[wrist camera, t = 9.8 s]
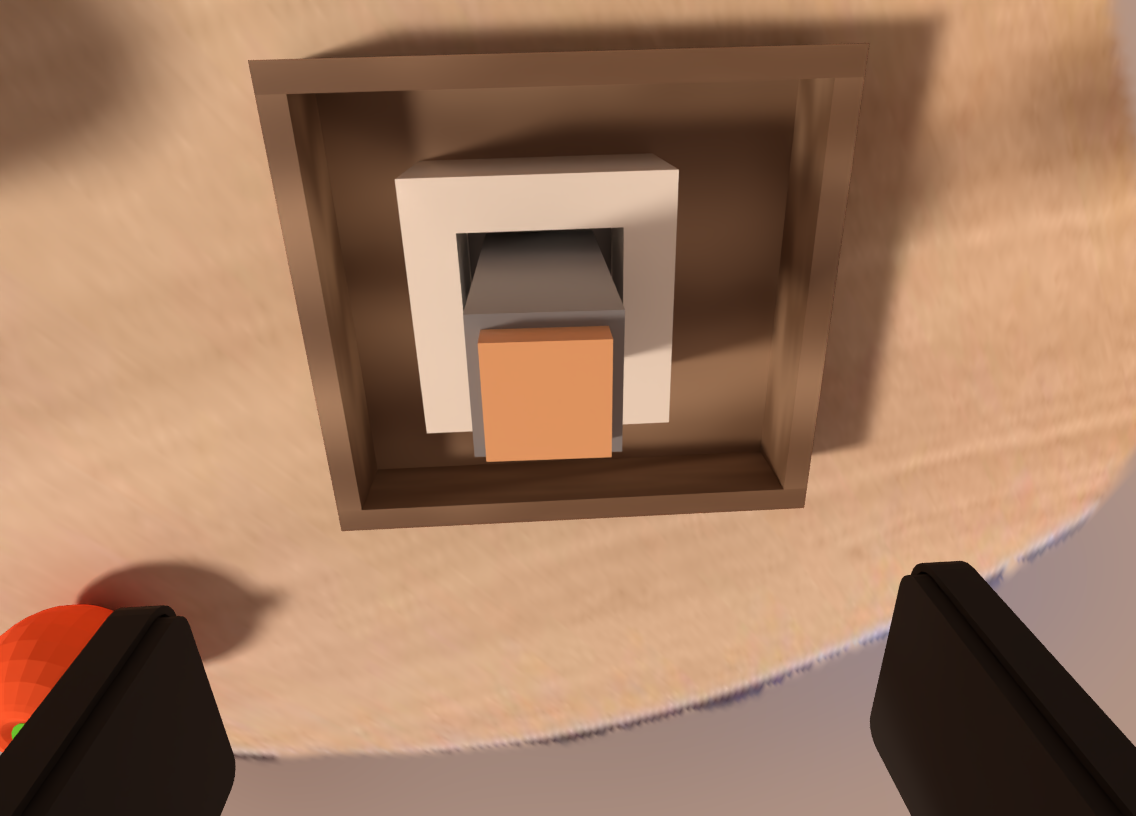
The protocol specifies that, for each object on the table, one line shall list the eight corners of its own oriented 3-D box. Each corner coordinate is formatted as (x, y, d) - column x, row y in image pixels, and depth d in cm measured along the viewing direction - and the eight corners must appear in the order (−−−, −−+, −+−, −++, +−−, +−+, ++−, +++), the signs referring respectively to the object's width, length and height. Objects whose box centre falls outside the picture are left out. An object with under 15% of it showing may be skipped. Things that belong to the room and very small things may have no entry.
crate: (287, 63, 26) (248, 60, 22) (822, 47, 26) (869, 42, 23) (362, 482, 33) (341, 530, 30) (775, 462, 34) (803, 507, 30)
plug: (485, 233, 26) (459, 327, 16) (592, 230, 26) (630, 322, 16) (492, 334, 28) (471, 476, 18) (592, 331, 28) (627, 470, 18)
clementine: (162, 560, 35) (79, 670, 28) (214, 663, 38) (149, 782, 31) (7, 586, 35) (-111, 700, 29) (71, 686, 38) (-23, 809, 32)
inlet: (419, 160, 27) (394, 179, 22) (651, 153, 27) (679, 169, 22) (443, 377, 31) (426, 433, 26) (647, 368, 31) (668, 422, 26)
